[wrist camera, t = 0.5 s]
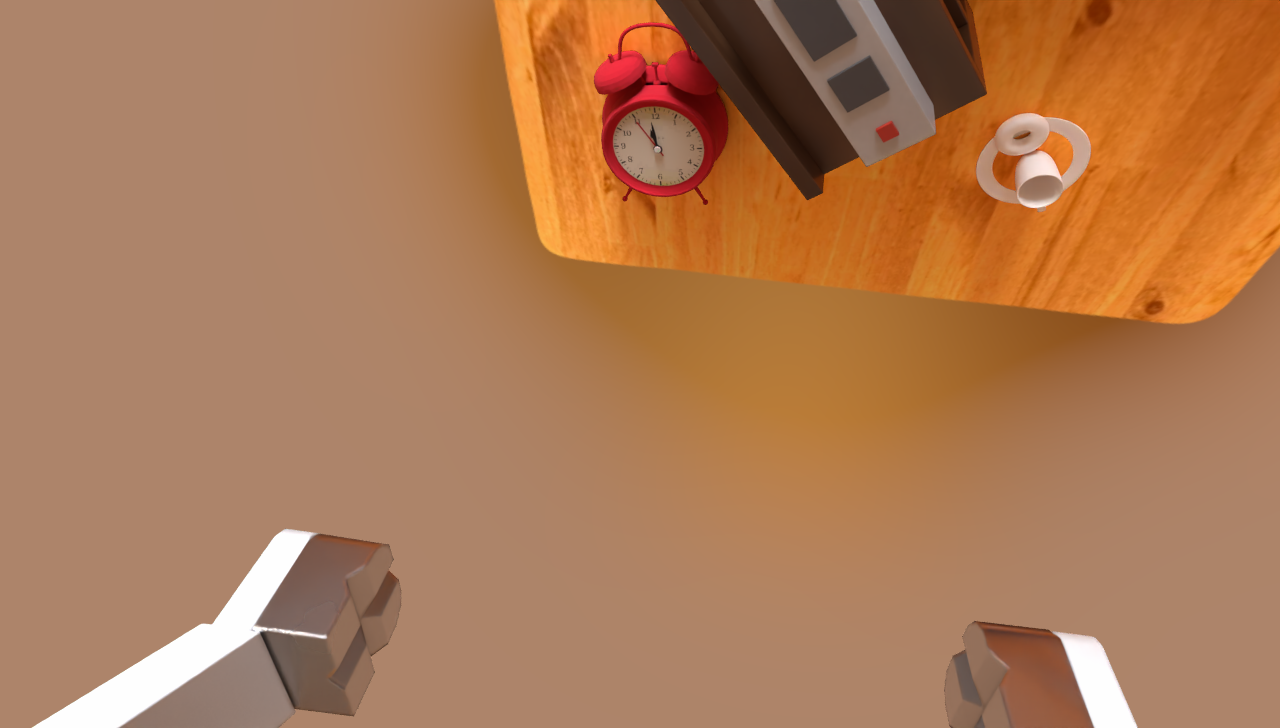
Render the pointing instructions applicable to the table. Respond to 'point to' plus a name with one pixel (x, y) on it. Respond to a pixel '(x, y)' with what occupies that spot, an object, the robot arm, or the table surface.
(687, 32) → the shelf
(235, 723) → the robot arm
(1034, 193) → the white piece
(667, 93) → the alarm clock
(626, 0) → the table surface
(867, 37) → the remote
